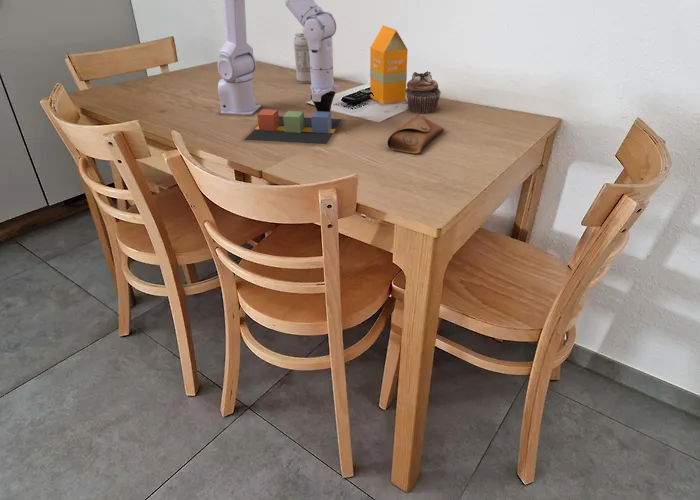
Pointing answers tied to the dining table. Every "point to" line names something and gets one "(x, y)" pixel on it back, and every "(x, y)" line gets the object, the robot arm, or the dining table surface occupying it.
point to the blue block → (321, 122)
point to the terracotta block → (268, 119)
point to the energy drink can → (302, 59)
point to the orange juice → (388, 67)
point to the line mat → (302, 137)
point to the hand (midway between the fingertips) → (324, 121)
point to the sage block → (294, 121)
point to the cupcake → (422, 93)
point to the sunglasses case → (414, 135)
